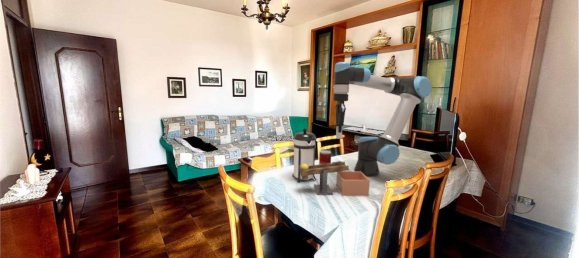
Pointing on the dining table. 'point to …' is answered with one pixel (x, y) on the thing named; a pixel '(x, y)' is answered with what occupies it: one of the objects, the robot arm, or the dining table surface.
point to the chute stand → (323, 185)
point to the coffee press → (304, 152)
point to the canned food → (324, 157)
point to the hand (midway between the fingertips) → (338, 138)
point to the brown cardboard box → (352, 183)
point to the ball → (304, 167)
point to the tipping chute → (319, 169)
